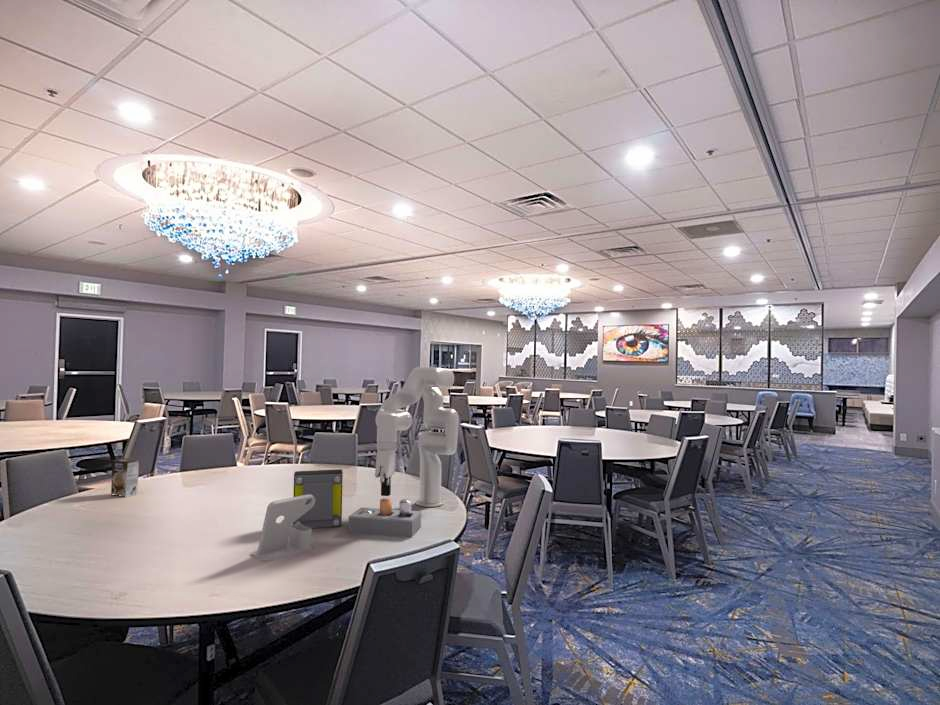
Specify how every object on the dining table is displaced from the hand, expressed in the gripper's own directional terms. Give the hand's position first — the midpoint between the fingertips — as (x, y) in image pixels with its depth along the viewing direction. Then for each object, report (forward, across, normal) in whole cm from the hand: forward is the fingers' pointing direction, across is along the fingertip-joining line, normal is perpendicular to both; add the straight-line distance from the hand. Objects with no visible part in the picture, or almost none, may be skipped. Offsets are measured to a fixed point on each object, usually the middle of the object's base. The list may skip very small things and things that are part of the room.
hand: (385, 495), depth 194 cm
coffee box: (+13, -23, -133) cm, 136 cm away
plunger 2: (+7, 0, +8) cm, 10 cm away
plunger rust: (+7, 0, 0) cm, 7 cm away
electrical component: (+13, 0, -27) cm, 30 cm away
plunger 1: (+12, 0, -7) cm, 14 cm away
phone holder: (+13, +28, -25) cm, 40 cm away
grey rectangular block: (+13, 0, 0) cm, 13 cm away
